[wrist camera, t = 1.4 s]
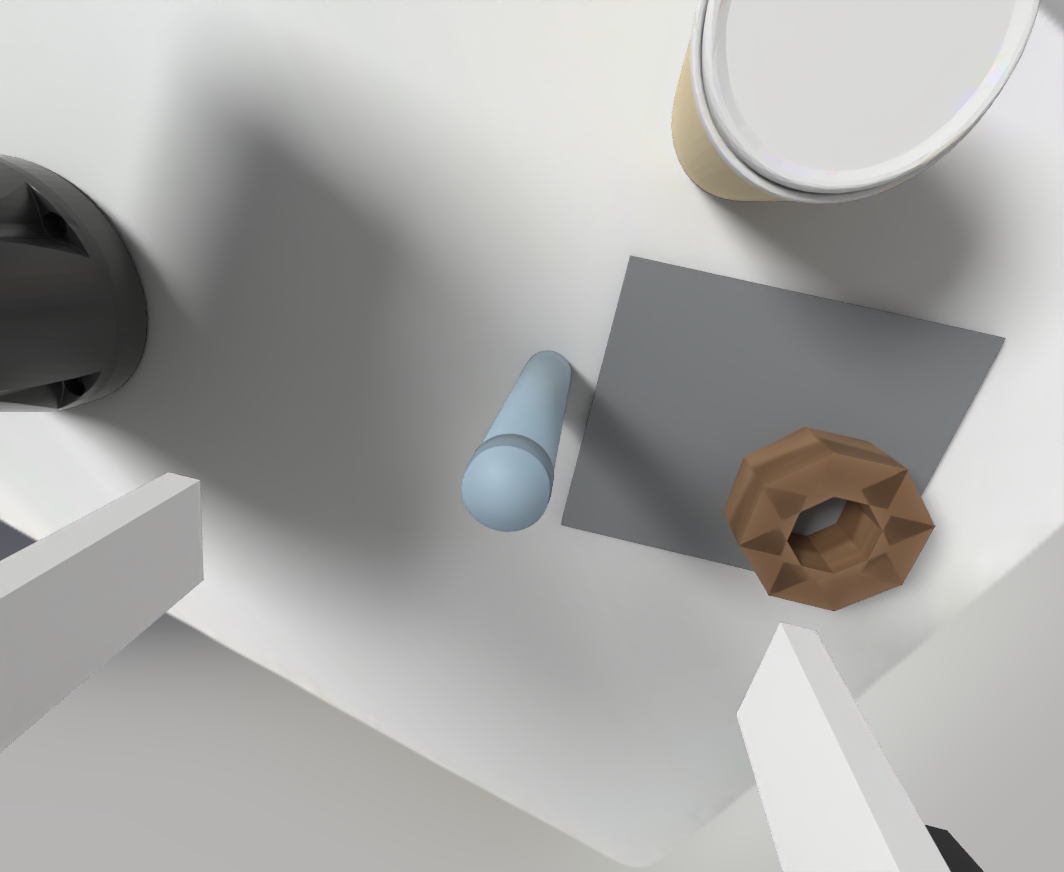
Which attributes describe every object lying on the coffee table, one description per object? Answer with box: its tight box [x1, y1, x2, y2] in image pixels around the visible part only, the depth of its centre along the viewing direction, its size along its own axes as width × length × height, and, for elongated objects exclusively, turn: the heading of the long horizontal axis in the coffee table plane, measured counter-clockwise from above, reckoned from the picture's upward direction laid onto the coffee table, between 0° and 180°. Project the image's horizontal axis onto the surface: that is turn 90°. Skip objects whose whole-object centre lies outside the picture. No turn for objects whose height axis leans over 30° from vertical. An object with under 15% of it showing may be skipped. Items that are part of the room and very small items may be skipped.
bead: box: [723, 427, 935, 611], centre depth 30 cm, size 9×9×4 cm
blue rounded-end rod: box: [461, 351, 571, 532], centre depth 24 cm, size 3×3×16 cm
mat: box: [561, 256, 1006, 571], centre depth 31 cm, size 20×17×1 cm
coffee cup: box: [671, 0, 1040, 204], centre depth 20 cm, size 9×9×12 cm
